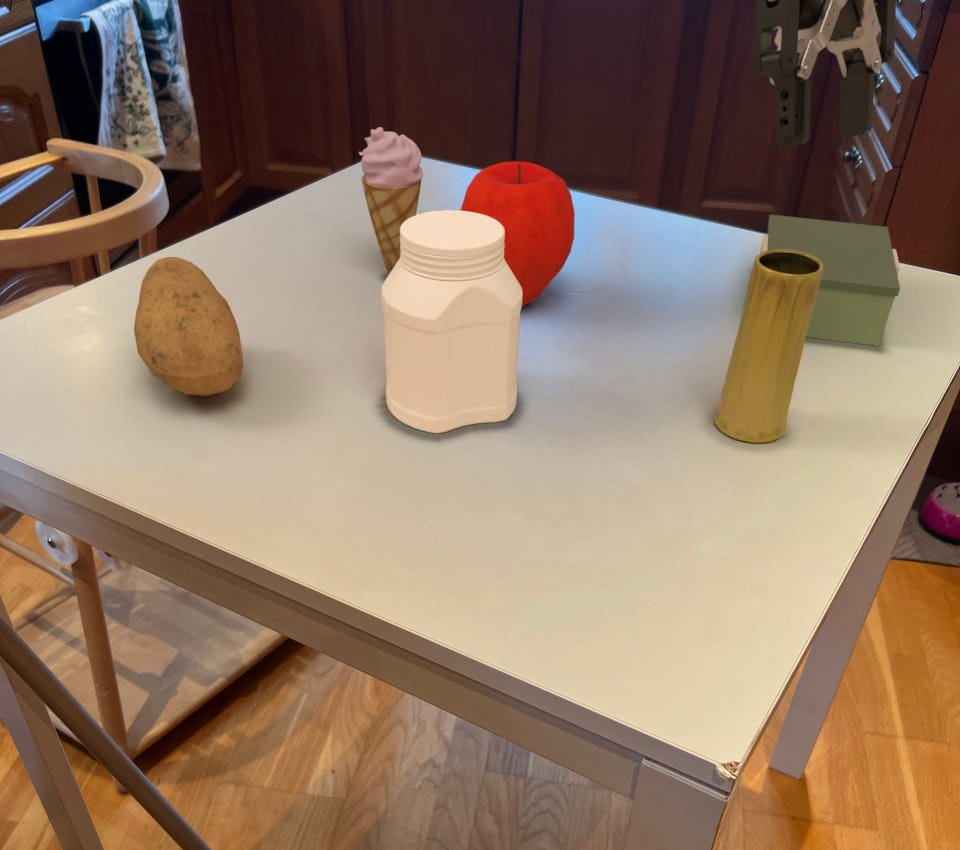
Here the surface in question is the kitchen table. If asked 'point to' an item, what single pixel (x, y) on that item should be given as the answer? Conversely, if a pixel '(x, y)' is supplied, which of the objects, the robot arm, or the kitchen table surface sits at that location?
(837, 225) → the lunchbox
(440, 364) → the jar
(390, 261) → the ice cream cone
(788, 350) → the vase
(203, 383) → the potato
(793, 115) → the robot arm
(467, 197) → the apple
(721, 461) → the kitchen table surface
